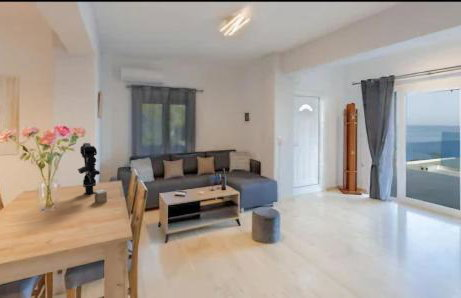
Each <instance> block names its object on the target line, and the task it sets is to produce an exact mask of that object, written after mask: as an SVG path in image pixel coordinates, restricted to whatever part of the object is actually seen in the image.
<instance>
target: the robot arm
mask: <svg viewBox="0 0 461 298" xmlns="http://www.w3.org/2000/svg"><path fill="white" fill-rule="evenodd" d="M80 154H81V157H82V158H83V160H84V166H82V167H79V168H77V171H78V173H79V174H84V176H83V177H84V178H83V180H82V187H83V188H84V189H85V190H84V191H85V192H83V194H85V195H87V196H88V195H93V194H94V195H95V192H94V187H95V186H96V185H97V183H96V182H97V179H95V177H96V176H97V175H100V174H101V173H100V171H99V170H97V169H96V165H97V164H96V162H97V159H96V157H95V156H97V155H98V151H97V148H96V147H95V145H91V143H89V142H84V143H83V144H82V145H81V146H80Z"/></svg>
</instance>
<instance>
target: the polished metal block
mask: <svg viewBox="0 0 461 298" xmlns="http://www.w3.org/2000/svg"><path fill="white" fill-rule="evenodd" d="M93 192H95V193H94V203H97V204H102V203H107V202H108V196H107V195H108V193H107V190H105V189H99V190H93Z"/></svg>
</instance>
